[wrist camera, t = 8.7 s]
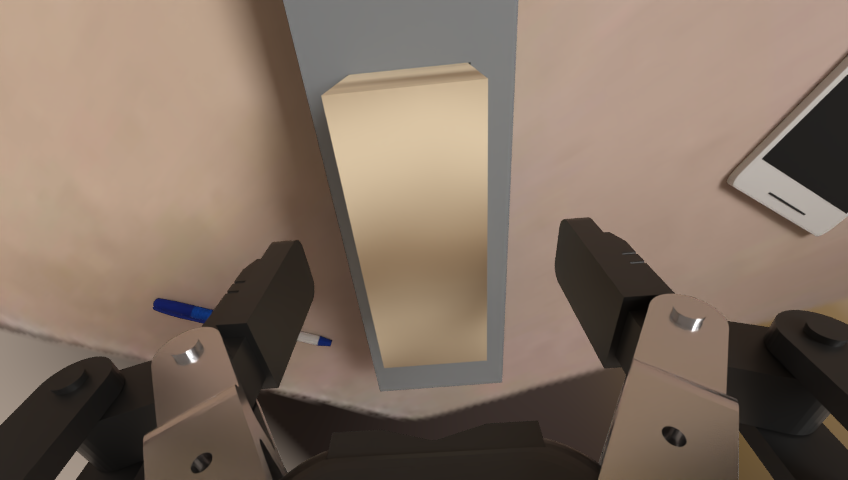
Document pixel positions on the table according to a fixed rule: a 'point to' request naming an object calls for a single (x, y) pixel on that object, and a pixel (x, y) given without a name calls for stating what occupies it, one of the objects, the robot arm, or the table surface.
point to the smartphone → (804, 160)
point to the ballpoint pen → (202, 314)
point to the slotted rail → (403, 49)
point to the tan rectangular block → (418, 205)
